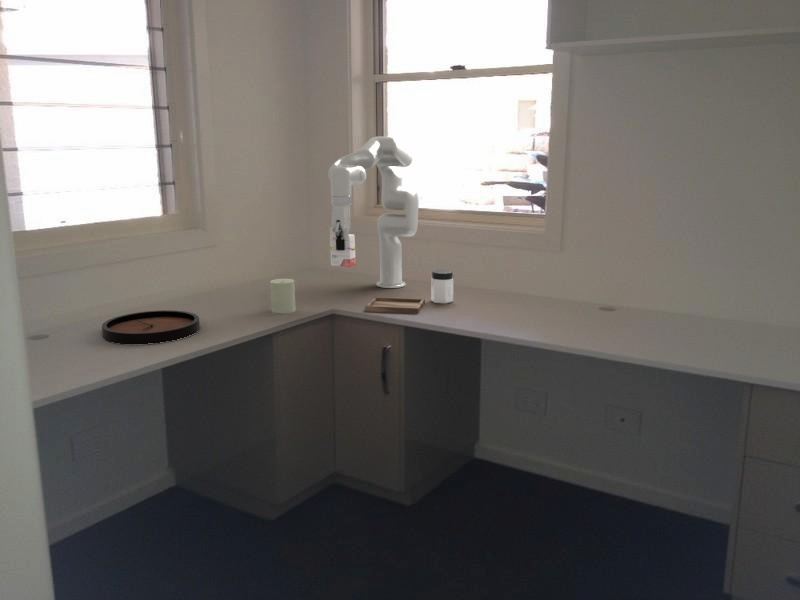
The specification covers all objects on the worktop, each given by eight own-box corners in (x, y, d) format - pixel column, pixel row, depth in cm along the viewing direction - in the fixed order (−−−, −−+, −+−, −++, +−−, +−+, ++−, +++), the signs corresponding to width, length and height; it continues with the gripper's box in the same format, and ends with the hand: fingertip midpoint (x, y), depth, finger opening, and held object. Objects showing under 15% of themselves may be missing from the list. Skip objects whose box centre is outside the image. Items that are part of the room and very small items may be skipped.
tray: (375, 301, 290) (374, 297, 290) (424, 303, 286) (424, 298, 286) (365, 311, 275) (365, 306, 274) (418, 313, 271) (418, 308, 271)
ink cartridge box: (356, 264, 278) (355, 226, 274) (350, 267, 273) (349, 227, 270) (336, 263, 281) (335, 225, 278) (330, 265, 277) (328, 227, 273)
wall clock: (203, 328, 239) (100, 337, 228) (204, 339, 239) (101, 350, 229) (194, 307, 267) (102, 314, 256) (195, 317, 268) (103, 326, 257)
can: (273, 314, 271) (271, 282, 268) (269, 309, 279) (267, 278, 277) (297, 312, 274) (296, 281, 271) (293, 307, 282) (292, 276, 280)
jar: (441, 304, 285) (442, 274, 282) (426, 301, 291) (427, 271, 288) (457, 300, 291) (457, 271, 288) (442, 297, 297) (442, 268, 294)
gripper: (338, 198, 280) (339, 244, 285) (324, 202, 264) (326, 252, 268) (357, 198, 279) (358, 245, 283) (344, 203, 263) (346, 252, 267)
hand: (342, 248), depth 276 cm, fingers closed on ink cartridge box, 5 cm apart
